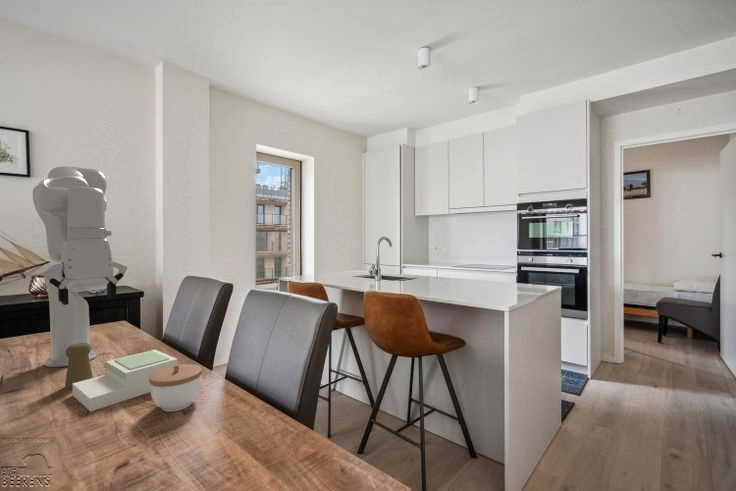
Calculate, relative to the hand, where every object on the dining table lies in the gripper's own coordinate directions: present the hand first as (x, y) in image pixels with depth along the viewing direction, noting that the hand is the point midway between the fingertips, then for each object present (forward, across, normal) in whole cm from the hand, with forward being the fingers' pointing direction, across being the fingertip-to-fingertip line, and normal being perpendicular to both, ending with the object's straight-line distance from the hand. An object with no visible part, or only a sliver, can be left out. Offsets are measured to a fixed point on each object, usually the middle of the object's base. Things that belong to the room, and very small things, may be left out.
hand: (88, 301), depth 91 cm
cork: (+23, +1, -5) cm, 24 cm away
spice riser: (+23, -6, +9) cm, 25 cm away
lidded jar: (+23, -8, +29) cm, 38 cm away
